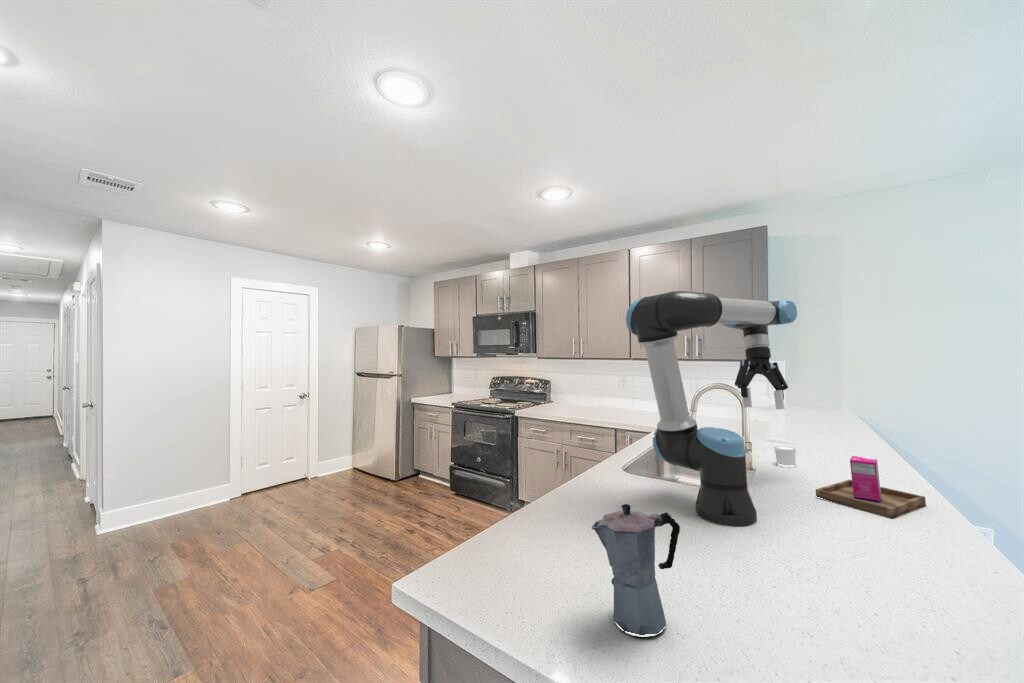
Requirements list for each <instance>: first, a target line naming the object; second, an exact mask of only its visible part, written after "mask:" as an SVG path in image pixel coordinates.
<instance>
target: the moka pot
mask: <svg viewBox="0 0 1024 683" xmlns="http://www.w3.org/2000/svg"><path fill="white" fill-rule="evenodd" d="M620 507H621V509H622V510H617V511H613V512H610V513H607V514H604V515H603V517H602V519H598V520H596V521H595V523H593V524H592V525H591V530H593V531H594V532H595V533H596V535H597V536H598V539H599V541H600V542H601V544H602V546H603V547H604V549H605V551H606V556H607V560H608V562H609V566H610V567H611V571H612V575H613V578H611V584H612V585H613V622H614V621H615V622H616V623H617V624H618V625H619V626H620V627H621V628H622V629H623V630H624V631H627V632H631V633H635V634H639V635H645V634H657V633H659V632H660V631H661V630H662V629H663V628H664V627H665V626H666V627H667V620H666V617H665V616H666V615H665V612H664V608H663V602H662V600H661V596H660V595H661V594H660V593H659V586H658V582H657V579H656V565H655V560H656V556H655V555H656V554H655V553H656V528H657V527H658V528H660V527H663V526H664V525H666V524H667V525H668V524H669V525H670V526H671V527H672V528H671V531H670V540H669V546H668V553H667V558H666V560H665V562H660V563H658V565H657V566H658V567H659V569H660V570H665V569H670V568H673V565H674V563H673V562H674V560H675V554H676V549H677V544H678V539H679V534H680V531H681V530H680V529H681V526H680V524H679V523H678V522H677V521H676V519H675V518H673V517H672V515H671V514H669V513H668V511H666V512H664V513H659V514H658V513H656V514H655V513H653V514H650V515H648V514H646V513H644V512H641V511H633V510H632V511H631V505H630V504H627V503H624V504H621V506H620ZM666 627H665V628H666Z"/></svg>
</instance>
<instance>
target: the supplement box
mask: <svg viewBox="0 0 1024 683" xmlns="http://www.w3.org/2000/svg"><path fill="white" fill-rule="evenodd" d="M878 464H879V463H878V458H877V457H869V456H868V457H867V456H859V455H858V456H857V455H852V456H851V458H850V459H849V466H850V474H851V480H852V484H853V493H854V498H855V499H860V500H866V501H872V502H877V503H880V501H881V498H882V497H881V490H880V487H881V483H880V474H879V472H880V471H879V466H878Z"/></svg>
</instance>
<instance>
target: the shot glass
mask: <svg viewBox="0 0 1024 683" xmlns="http://www.w3.org/2000/svg"><path fill="white" fill-rule="evenodd" d="M796 452H797V449H796V448H795V447H793V446H785V445H783V446H781V445H778V446H774V453H775V459H776V464H777V463H779V464H783V465H795V466H796V455H797V454H796Z"/></svg>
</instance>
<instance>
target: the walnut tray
mask: <svg viewBox="0 0 1024 683" xmlns="http://www.w3.org/2000/svg"><path fill="white" fill-rule="evenodd" d="M880 490H881V497H882V498H881V501H880V503H877V502H872V501H866V500H860V499H855V498H854V493H853V484H852V479H846V480H843V481H839V482H836V483H833V484H830V485H826V486H823V487H819V488H815V497H816V496H817V497H820V498H823V499H826V500H829V501H828V502H830V501H832V502H831V503H833V502H835V503H834V504H837V503H838V504H837V505H841V504H842V506H844V505H845V507H848V508H851V507H852V509H856V510H859V511H863V512H867V513H870V514H874V515H877V516H881V517H884V518H888V519H891V520H893V519H896V518H898V517H901V516H904V515H906V514H908V513H911V512H914V511H916V510H918V509H922V508H924V507H926V506H927V502H926V501H927V500H926V496H922V495H919V494H914V493H910V492H905V491H901V490H897V489H892V488H889V487H888V488H887V487H884V486H880ZM823 499H822V500H823ZM826 500H825V501H826Z"/></svg>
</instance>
